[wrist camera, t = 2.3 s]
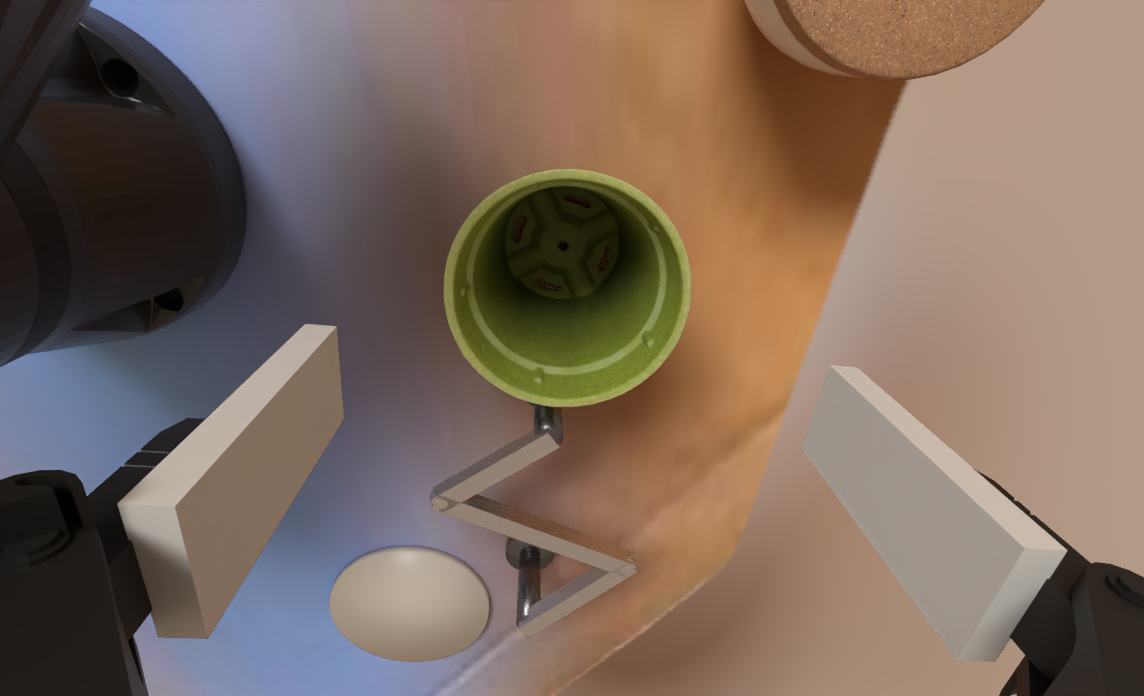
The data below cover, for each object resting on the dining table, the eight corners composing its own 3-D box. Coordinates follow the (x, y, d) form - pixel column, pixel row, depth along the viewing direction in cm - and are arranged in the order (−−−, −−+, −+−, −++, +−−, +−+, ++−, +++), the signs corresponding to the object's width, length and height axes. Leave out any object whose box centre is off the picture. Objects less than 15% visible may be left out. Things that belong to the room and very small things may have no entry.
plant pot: (452, 300, 29) (420, 376, 21) (495, 120, 26) (475, 132, 18) (614, 344, 31) (640, 429, 23) (677, 180, 27) (732, 216, 19)
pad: (338, 652, 41) (335, 660, 40) (326, 542, 36) (322, 549, 35) (486, 655, 42) (485, 663, 41) (493, 549, 37) (492, 555, 36)
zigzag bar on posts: (446, 559, 37) (428, 648, 31) (449, 345, 30) (428, 407, 24) (607, 565, 38) (620, 653, 32) (645, 360, 31) (670, 423, 25)
